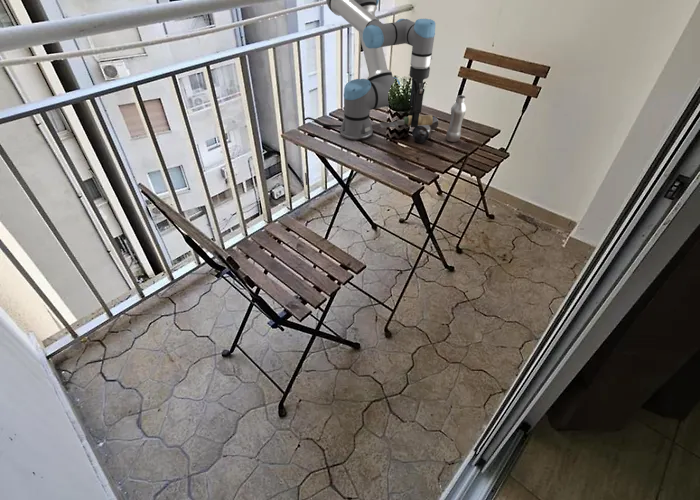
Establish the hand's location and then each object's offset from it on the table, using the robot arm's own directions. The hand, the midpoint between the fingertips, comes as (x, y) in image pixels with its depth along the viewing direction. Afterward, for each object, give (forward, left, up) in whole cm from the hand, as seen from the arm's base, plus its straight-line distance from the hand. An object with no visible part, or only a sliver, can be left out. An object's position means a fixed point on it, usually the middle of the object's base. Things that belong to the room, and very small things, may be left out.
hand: (413, 124), depth 164 cm
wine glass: (+5, +23, -8) cm, 24 cm away
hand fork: (-3, -1, 0) cm, 3 cm away
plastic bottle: (+17, +15, -12) cm, 25 cm away
